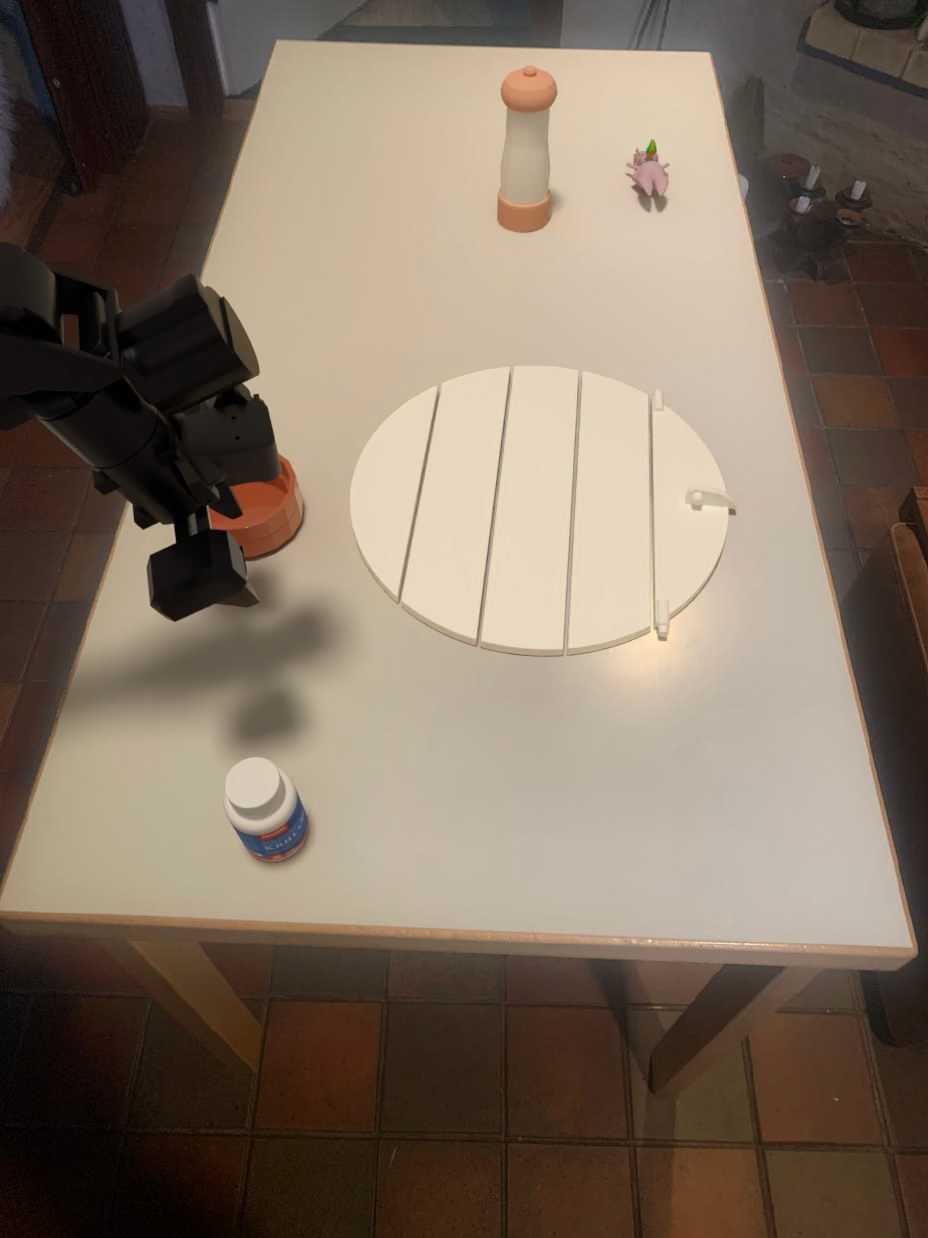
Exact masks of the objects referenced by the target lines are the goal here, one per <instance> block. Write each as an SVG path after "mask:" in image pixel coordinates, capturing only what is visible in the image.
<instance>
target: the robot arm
mask: <svg viewBox="0 0 928 1238" xmlns="http://www.w3.org/2000/svg"><path fill="white" fill-rule="evenodd" d="M117 291H118V290H117V289H115V288H114V287H111V286H109V285H106V284H103V283H100V282H98V281H94V280H92V279H90V278H86V277H83V276H80V275H77V274H74V273H71V272H69V271H66V270H63V269H60V268H57V267H54V266H52V265H49V264H46V263H44V262H43V261H42V260H40V259H39V258H37V257H36V256H34V255H32V254H31V253H29V252H28V251H26V249H25V248H24V246H21V245H19V244H15V243H13V242H12V243H11V242H8V241H0V432H1V433H9V432H11V431H13V430H15V429H17V428H19V427H21V426H24V425H25V424H27V423H29V422H32V421H33V420H38V421H39V422H40V423H42V424H43V426H45V427H46V428H47V429H48V430H49V431H50V432H52V433H53V434H54V435H55V436H56V437H57V438H58V439H60V441H62V442H63V443H64V444H65V445H66V446H67V447H68V448H69V449H70V450H71V451H72V452H74V454H76V455H77V456H78V457H79V458H81V460H83V461H84V462H85V463H86V464H87V465H88V466H89V467H90V468H91V469H92V481H93V488H94V489H96V491H98V492H99V493H100V494H101V495H102V496H106V495H109V494H110V493H111V494H112V493H113V492H115V491H116V492H118V493H119V494H120V495H121V496H122V497H123V498H125V499H126V500H127V501H128V502H129V503H130V504H131V506H132V514H133V515H132V516H133V522H134V524H135V525H137V526H138V527H139V528H140V529H141V530H142V531H144V530H146V529H149V528H150V527H152V526H155V525H158V524H159V523H160V524H161V525H162V526H169V525H173V531H174V537H175V538H174V539H175V542H174V543H172V544H171V545H168V546H166V547H164V548H162V549H160V550H157V551H155V552H153V553H151V554H149V557H148V560H147V564H146V577H147V587H148V597H149V606H150V607H151V608H152V609H153V610H155V611H156V612H157V613H158V614H160V615H161V616H162V617H164V618H165V619H167V620H168V621H170V622H173V623H177V622H178V621H181V620H183V619H185V618H187V617H190V616H191V615H195V614H196V613H199V612H200V611H203V610H205V609H207V608H210V607H212V606H213V605H221V606H230V607H238V608H246V609H247V608H252V607H254V606H256V605H258V604H260V603H261V601H260V597H259V595H258V594H257V593H256V591H255V589H254V588H253V586H252V585H251V584H250V582H249V580H248V578H247V577H248V568H247V563H246V562H247V561H246V557H244V551H243V546H238V544H237V542H236V540H235V539H234V538H233V537H232V536H231V534H230V533H229V532H228V531H227V530H217V529H212V525H211V518H210V512H209V508H210V509H212V510H214V511H215V512H217V513H219V514H221V515H223V516H225V517H227V518H229V519H232V520H234V519H237V518H239V517H241V516H242V515H243V510H242V508H241V506H240V504H239V502H238V500H237V498H236V495H235V493H234V491H233V489H232V487H231V486H235V485H240V484H245V483H251V482H256V481H262V482H268V481H272V480H274V479H276V478H278V477H279V475H280V474H281V464H280V460H279V455H278V453H279V451H278V446H277V441H276V437H275V431H274V428H273V423H272V420H271V414H270V410H269V407H268V405H267V404H266V402H265V401H264V400H263V399H262V398H261V397H260V393H253V394H252V393H251V391H250V389H249V388H248V387H247V385H245V384H244V383H246V382H248V381H250V380H253V379H255V378H256V377H258V376H260V373H261V370H260V364H259V360H258V356H257V354H256V351H255V349H254V346H253V344H252V341H251V339H250V338H249V335H248V333H247V330H246V329H245V327H244V325H243V324H242V321H241V320H240V318H239V316H238V315H237V313H236V312H235V310H234V309H233V307H232V305H231V304H230V302H229V301H228V299H227V298H226V296H221V295H219V293H218V292H217V291H216V290H215V289H214V288H213V287H212V286H209V285H206V286H204V285H203V283H202V281H201V280H200V279H199V278H198V276H197V275H196V274H195V273H191V272H190V273H188V274H186V275H184V276H182V277H180V278H178V279H176V280H174V281H173V282H171V283H170V284H169V285H168V286H166V287H165V289H163V290H161V291H160V292H158V293H156V294H153V295H151V296H150V297H148V298H146V299H144V300H142V301H141V302H138V303H136V304H133V305H132V306H130V307H128V308H126V309H124V310H122V309H121V307H119V296H118V292H117ZM64 315H70V316H71V315H72V316H77V336H78V348H73V347H70V346H67V345H65V337H64V336H65V333H64V331H65V330H64Z"/></svg>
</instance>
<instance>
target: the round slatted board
mask: <svg viewBox="0 0 928 1238" xmlns="http://www.w3.org/2000/svg"><path fill="white" fill-rule="evenodd" d="M579 373H580V371H579V369H575V368H567V367H562V366H561V367H560V366H553V365H552V366H549V365H515V366H513V371H512V380H511V387H510V397H509V404H508V411H507V412H508V413H507V420H506V421H507V422H506V429H505V436H504V445H503V453H502V461H501V469H500V479H499V487H498V493H497V494H498V495H497V503H496V512H495V518H494V519H495V520H494V527H493V536H492V543H491V552H490V562H489V567H488V569H489V570H488V578H487V585H486V593H485V602H484V611H483V619H482V628H481V635H480V648H483V649H486V650H490V651H494V652H500V653H506V654H514V655H522V656H532V657H533V656H537V657H551V656H552V657H556V656H557V657H558V656H563V653H564V652H563V651H564V641H565V639H564V638H565V622H566V606H567V605H566V604H567V601H566V600H567V586H568V585H567V584H568V571H569V570H568V569H569V568H568V567H569V550H570V535H571V534H570V533H571V517H572V515H571V514H572V499H573V498H572V497H573V496H572V495H573V482H574V481H573V479H574V466H575V465H574V463H575V444H576V429H577V428H576V427H577V410H578V409H577V408H578V391H579ZM510 378H511V366H501V367H494V368H488V369H483V370H478V371H474V372H471V373H467V374H463V375H460V376H457V377H454V378H451V379H448V380H445V381H444V382H442V383H441V388H440V391H439V384H437V385H435V386H432V387H430V388H428V389H426V390H424V391H423V392H421V393H418V394H417V395H416V396H414V397H412V398H410V399H409V400H407V401H406V402H404V404H402V405H401V406H400V407H399V408H397V409H396V410H394V412H392V414H390V415H389V416H388V417H387V418H386V419H385V420H384V421H383V422H382V423H381V424H380V425H379V427H377V428H376V430H375V431H374V433H373V434H372V435H371V436H370V438H369V439H368V441H367V443H366V444H365V446H364V448H363V450H361V453H360V455H359V457H358V459H357V462H356V465H355V467H354V470H353V474H352V478H351V483H350V489H349V515H350V522H351V526H352V527H351V528H352V532H353V536H354V539H355V544H356V546H357V549H358V552H359V554H360V556H361V558H362V560H363V562H364V564H365V566H366V568H367V569H368V571H369V572H370V574H371V575H372V577H373V578H374V580H375V581H376V582H377V584H378V585H379V586H380V587H381V588H382V590H383V591H384V592H385V593H386V594H387V595H388V596H389V597H390V598H391V599H392V600H393V601H394V602H395V603H396V604H399V602H400V603H401V608H402V609H403V610H404V611H406V612H407V613H408V614H410V615H411V616H412V617H414V618H415V619H417V620H419V621H420V622H422V623H423V624H425V625H427V626H429V627H430V628H432V629H434V630H435V631H437V632H440V633H442V634H443V635H446V636H448V637H451V638H452V639H455V640H458V641H460V642H464V643H465V644H468V645H472V646H476V647H477V644H478V643H477V642H478V634H479V626H480V619H481V618H480V617H481V610H482V603H483V595H484V593H483V592H484V587H485V586H484V585H485V579H486V571H487V564H488V563H487V562H488V554H489V546H490V538H491V530H492V522H493V515H494V507H495V506H494V505H495V499H496V498H495V497H496V490H497V483H498V482H497V481H498V475H499V466H500V458H501V451H502V443H503V433H504V426H505V419H506V409H507V402H508V393H509V386H510ZM439 392H440V393H439ZM579 396H580V400H579V414H578V416H579V417H578V418H579V419H578V433H577V435H578V437H577V454H576V470H575V471H576V473H575V492H574V494H575V495H574V510H573V528H572V547H571V566H570V584H569V585H570V586H569V605H568V621H567V622H568V623H567V639H566V655H567V656H569V655H571V656H572V655H579V654H586V653H591V652H595V651H600V650H605V649H609V648H612V647H615V646H618V645H621V644H624V643H627V642H630V641H632V640H635V639H636V638H639V637H641V636H643V635H646V634H648V633H649V632H650V629H651V627H652V626H653V630H655V629H657V631H658V634H657V635H658V636H659V637H660V638H666V637H667V636H668V635H669V630H668V629H669V628H670V625H671V623H670V620H671V619H672V618H673V617H675V616H676V615H678V613H680V612H681V611H682V610H683V609H684V608H686V606H688V605H689V604H690V603H691V602H692V601H693V600H694V598H695V597H697V595H698V594H699V593H700V592H701V591H702V589H703V588H704V586H705V585H706V583H707V582H708V581H709V579H710V578H711V576H712V574H713V572H714V570H715V568H716V566H717V564H718V561H719V559H720V556H721V554H722V551H723V549H724V545H725V541H726V538H727V534H728V528H729V527H728V526H729V513H730V512H729V509H736V510H737V509H738V503H737V501H736V498H735V497H734V496H732V495H731V494H730V493H728V492H727V489H726V485H725V481H724V478H723V475H722V472H721V470H720V468H719V466H718V464H717V461H716V459H715V457H714V456H713V454H712V452H711V451H710V449H709V448H708V446H707V444H706V443H705V442H704V440H702V438H701V437H700V435H698V433H697V432H696V431H695V430H694V429H693V427H691V426H690V425H689V424H688V423H687V422H686V421H685V420H684V419H683V418H682V417H680V416H679V414H677V413H676V412H675V411H673V410H672V409H671V408H669V407H668V406H666V405H665V403H664V402H665V401H664V392H663V391H662V389H661V388H655V389H654V390H653V394H652V397H651V399H650V407H649V395H648V394H647V393H646V392H643V391H642V390H639V389H638V388H636V387H633V386H631V385H629V384H627V383H625V382H622V381H619V380H616V379H614V378H610V377H608V376H605V375H601V374H598V373H594V372H590V371H585V370H582V371H581V379H580V395H579ZM437 403H438V404H437ZM436 408H437V409H436ZM649 410H650V415H649ZM435 413H436V414H435ZM649 416H650V417H649ZM434 418H435V420H434ZM649 421H650V422H649ZM649 423H650V424H649ZM649 425H650V426H649ZM649 427H650V428H649ZM432 428H433V429H432ZM649 434H650V435H649ZM431 435H432V436H431ZM429 444H430V447H429ZM428 450H429V452H428ZM427 455H428V457H427ZM650 471H651V472H650ZM424 472H425V474H424ZM650 475H651V476H650ZM423 476H424V478H423ZM650 479H651V495H650ZM422 480H423V481H422ZM421 486H422V487H421ZM420 492H421V493H420ZM419 496H420V498H419ZM650 496H651V505H650ZM418 502H419V504H418ZM417 507H418V509H417ZM650 507H651V509H650ZM416 512H417V514H416ZM650 512H651V513H650ZM415 517H416V520H415ZM650 519H651V520H650ZM414 524H415V525H414ZM413 529H414V530H413ZM412 534H413V536H412ZM411 539H412V541H411ZM410 543H411V546H410ZM651 543H652V544H651ZM651 546H652V547H651ZM651 549H652V550H651ZM409 550H410V552H409ZM651 552H652V553H651ZM408 554H409V557H408ZM651 555H652V581H651ZM407 559H408V561H407ZM406 565H407V567H406ZM405 570H406V572H405ZM404 575H405V577H404ZM403 580H404V583H403ZM651 582H652V584H651ZM402 585H403V588H402ZM651 585H652V590H651ZM401 591H402V594H401ZM400 596H401V599H400ZM652 614H653V615H652ZM652 619H653V625H652Z"/></svg>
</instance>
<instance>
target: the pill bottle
mask: <svg viewBox="0 0 928 1238" xmlns="http://www.w3.org/2000/svg"><path fill="white" fill-rule="evenodd" d="M223 810H224V813H225V817H226V818H227V820H228V822H229V823H230V825H231V827H232V828H233V830H234V831H235V833H236V834H237V836H238V837H239V840H240V841H241V842H242V844H243V846H244V847H245V848H246V850H247V851H248V852H249V853H250V854H251V856H253V857H255V858H256V859H259V860H262V861H266V862H277V861H278V862H279V861H282V860H285V859H288V858H289V857H291V856H293V855H295V853H296V852H297V851H299V850H300V849H301V848H302V846H303V844H305V841H306V839H307V837H308V833H309V819H308V815H307V812H306V810H305V807H304V805H303V802H302V800H301V797H300V794H299V792H298V789H297V787H296V785H295V783H294V781H293V779H292V778H291V776H290V775H289V774H288V773H287V772H286V771H285V770H283V769H282V768H280V767H279V766H276V765H275V764H274V763H273V762H272V761H271V760H269V759H267V758H264V757H259V756H254V757H253V756H252V757H248V758H247V757H246V758H244V759H243V760H240V761H239V762H237V763H236V764H234V765H233V766H232V767H231V769H230V770H229V771H228V773H227V775H226V778H225V781H224V795H223Z"/></svg>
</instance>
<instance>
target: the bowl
mask: <svg viewBox="0 0 928 1238" xmlns="http://www.w3.org/2000/svg"><path fill="white" fill-rule="evenodd" d="M278 455H279V460H280V464H281V474H280V475H279V477H278V478H276V479H274V480H272V481H268V482H262V481H256V482H251V483H245V484H240V485H235V486H231V487H232V489H233V491H234V493H235V495H236V498H237V500H238V502H239V504H240V506H241V508H242V510H243V515H242V516H241V517H239V518H237V519H234V520H232V519H229V518H227V517H225V516H223V515H221V514H219V513H217V512H215V511H214V510H212V509H210V508H209V512H210V518H211V525H212V529H217V530H227V531H228V532H229V533H230V534H231V536H232V537H233V538H234V539H235V540H236V542H237V544H238V546H243V551H244V557H245V558H254V557H257V556H260V555H263V554H266V553H269V552H272V551H275V550H276V549H278V548H279V547H280V546H282V545H283V544H285V543H286V542H287V541H288V540H290V539H291V538H292V537H293V535H294V534H295V533H296V531H297V529H298V528H299V525H301V522H302V521H303V510H304V503H303V498H302V494H301V490H300V487H299V483H298V478H297V475H296V473H295V470H294V469H293V466H292V465H291V462H290V461H289V459H287V458H286V457H284V456H283V455H282V454H280V453H279V452H278Z"/></svg>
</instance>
